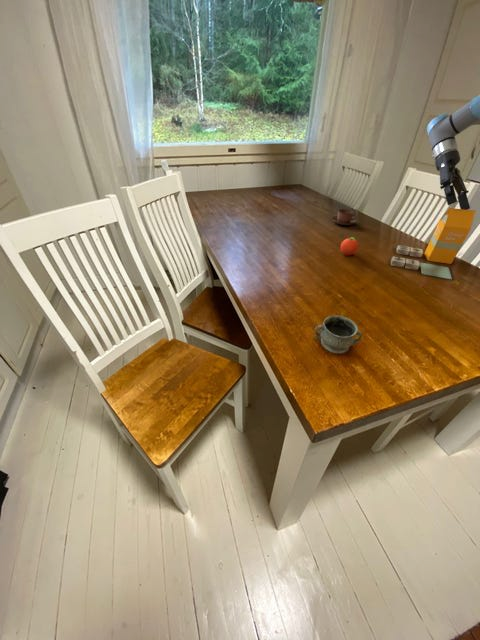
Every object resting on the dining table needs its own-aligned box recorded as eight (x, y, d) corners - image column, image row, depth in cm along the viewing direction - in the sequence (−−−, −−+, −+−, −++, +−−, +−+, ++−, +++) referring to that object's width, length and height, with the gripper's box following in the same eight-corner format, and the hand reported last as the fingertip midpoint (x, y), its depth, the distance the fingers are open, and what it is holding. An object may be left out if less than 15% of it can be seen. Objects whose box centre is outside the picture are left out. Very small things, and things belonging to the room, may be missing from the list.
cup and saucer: (352, 220, 150) (355, 208, 146) (356, 227, 141) (360, 215, 137) (330, 218, 151) (333, 207, 147) (332, 226, 142) (335, 214, 138)
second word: (448, 268, 108) (450, 263, 106) (451, 279, 100) (454, 274, 99) (391, 257, 114) (393, 253, 113) (390, 268, 107) (392, 263, 106)
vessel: (356, 336, 76) (363, 318, 72) (359, 359, 69) (367, 341, 65) (312, 329, 78) (316, 311, 74) (311, 350, 71) (316, 332, 67)
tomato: (341, 248, 121) (345, 232, 116) (357, 252, 118) (362, 236, 114) (337, 255, 115) (341, 239, 111) (354, 259, 113) (359, 242, 108)
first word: (420, 253, 118) (422, 248, 116) (421, 257, 115) (423, 253, 113) (396, 249, 121) (398, 244, 119) (396, 253, 118) (398, 248, 116)
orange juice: (451, 264, 110) (479, 213, 98) (427, 260, 112) (451, 211, 100) (446, 256, 116) (472, 207, 103) (423, 253, 118) (446, 205, 106)
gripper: (447, 170, 116) (459, 217, 114) (421, 153, 102) (434, 205, 100) (469, 158, 110) (482, 207, 108) (444, 138, 96) (459, 194, 93)
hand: (459, 206), depth 104 cm, fingers open, 13 cm apart
